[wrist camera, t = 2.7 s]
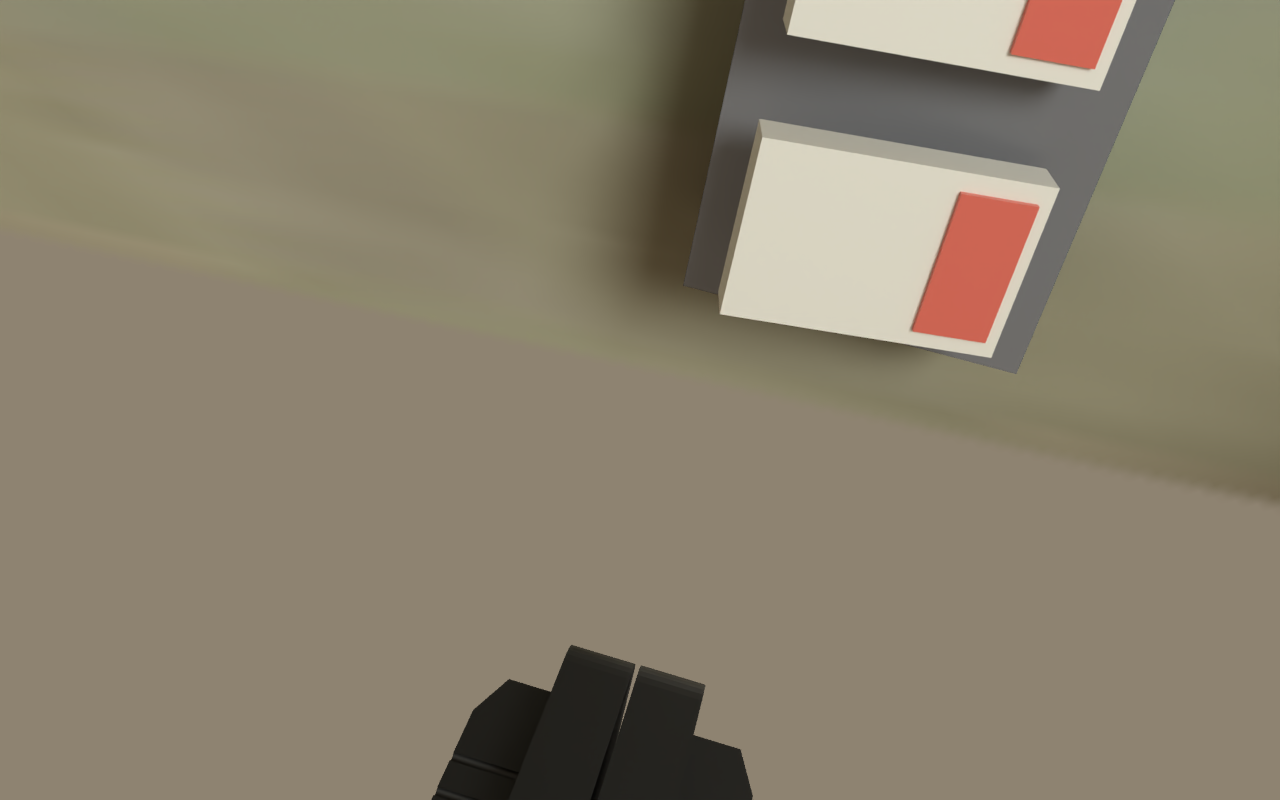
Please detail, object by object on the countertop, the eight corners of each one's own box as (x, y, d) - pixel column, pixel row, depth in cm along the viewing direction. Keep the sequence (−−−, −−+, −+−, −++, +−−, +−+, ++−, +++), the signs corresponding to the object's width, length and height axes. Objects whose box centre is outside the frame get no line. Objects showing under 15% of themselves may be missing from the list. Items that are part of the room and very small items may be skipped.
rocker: (1046, 168, 23) (1061, 191, 22) (981, 334, 26) (992, 361, 25) (759, 118, 23) (762, 139, 22) (718, 291, 25) (720, 317, 24)
